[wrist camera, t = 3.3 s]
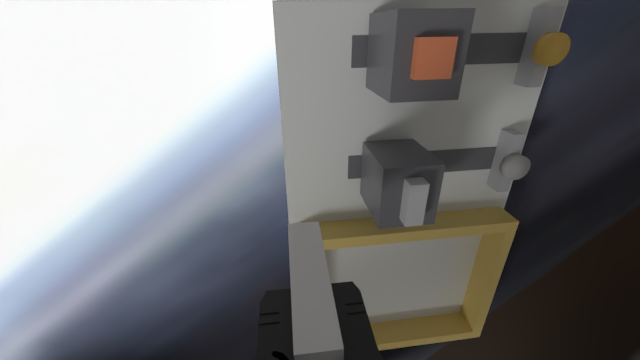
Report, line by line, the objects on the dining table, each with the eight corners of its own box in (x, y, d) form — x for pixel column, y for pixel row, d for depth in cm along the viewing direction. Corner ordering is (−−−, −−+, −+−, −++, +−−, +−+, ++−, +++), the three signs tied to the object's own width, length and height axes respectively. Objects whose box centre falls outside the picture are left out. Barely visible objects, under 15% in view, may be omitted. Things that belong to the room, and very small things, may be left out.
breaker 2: (359, 193, 25) (382, 238, 19) (362, 141, 23) (389, 176, 17) (406, 189, 25) (441, 232, 20) (413, 138, 23) (454, 171, 18)
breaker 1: (365, 87, 21) (393, 105, 16) (369, 13, 19) (402, 7, 14) (420, 85, 21) (464, 102, 16) (429, 12, 19) (483, 7, 14)
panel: (296, 325, 34) (299, 364, 30) (272, 3, 20) (271, -4, 16) (460, 305, 37) (482, 339, 33) (545, 1, 22) (605, -5, 18)
